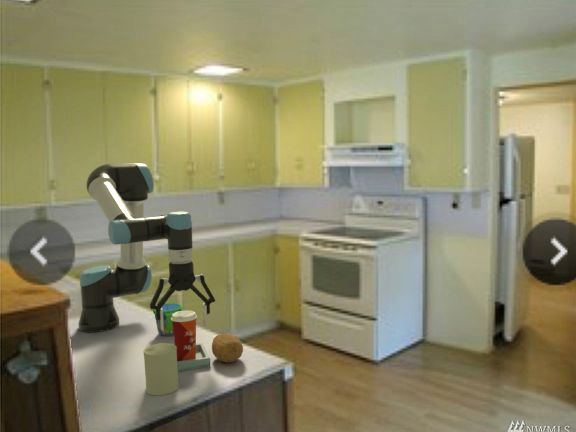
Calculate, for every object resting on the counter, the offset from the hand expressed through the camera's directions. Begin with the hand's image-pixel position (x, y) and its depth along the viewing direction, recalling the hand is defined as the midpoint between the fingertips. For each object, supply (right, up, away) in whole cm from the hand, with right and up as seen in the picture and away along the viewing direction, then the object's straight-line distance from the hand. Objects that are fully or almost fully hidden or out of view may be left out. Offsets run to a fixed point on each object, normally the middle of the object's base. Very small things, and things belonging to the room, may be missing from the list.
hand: (184, 326), depth 162 cm
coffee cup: (+1, -11, +1) cm, 11 cm away
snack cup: (-11, -9, +28) cm, 32 cm away
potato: (+14, -11, +1) cm, 18 cm away
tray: (+1, -11, +1) cm, 11 cm away
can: (-3, -14, -18) cm, 23 cm away
